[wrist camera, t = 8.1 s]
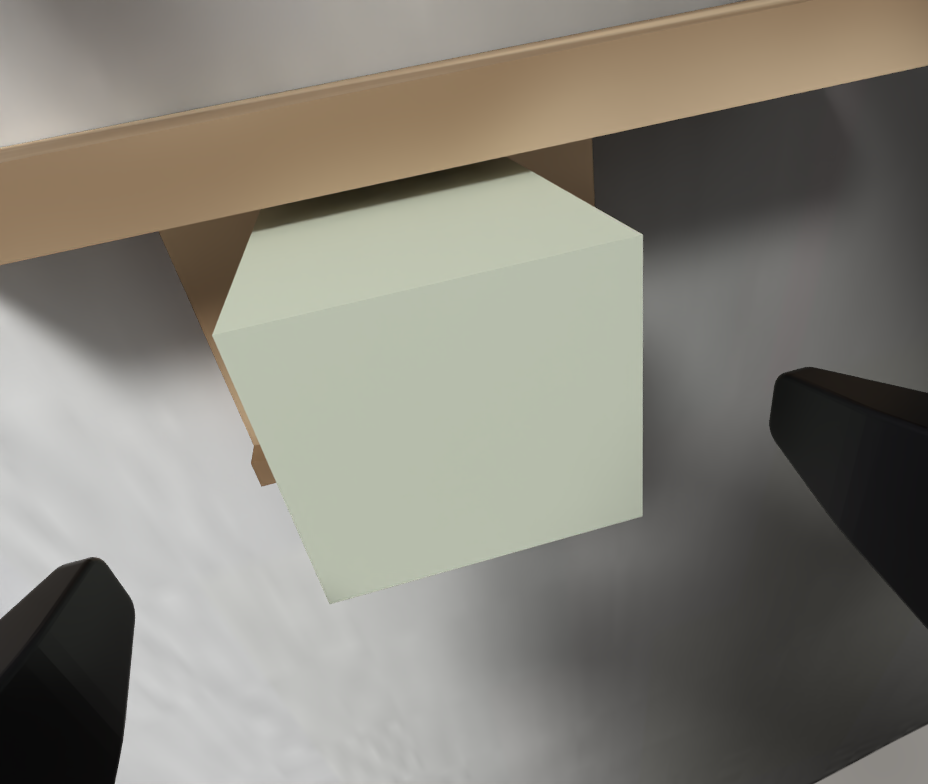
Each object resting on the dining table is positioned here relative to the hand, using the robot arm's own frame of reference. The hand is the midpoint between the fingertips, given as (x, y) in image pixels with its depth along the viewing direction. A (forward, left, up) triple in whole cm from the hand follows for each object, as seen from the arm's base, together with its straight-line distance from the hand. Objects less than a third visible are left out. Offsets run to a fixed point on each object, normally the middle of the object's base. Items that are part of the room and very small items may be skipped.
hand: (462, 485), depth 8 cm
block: (0, 0, -8) cm, 8 cm away
